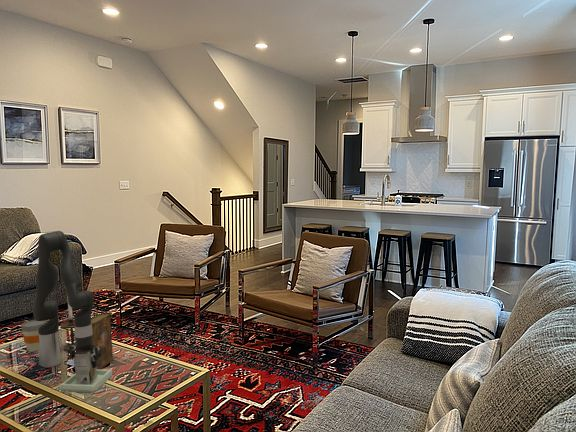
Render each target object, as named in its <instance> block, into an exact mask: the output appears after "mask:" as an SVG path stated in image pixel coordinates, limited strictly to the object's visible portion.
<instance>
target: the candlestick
mask: <svg viewBox="0 0 576 432" xmlns="http://www.w3.org/2000/svg"><path fill="white" fill-rule="evenodd" d="M66 297H67V300H68V295H67V296H66ZM67 311H68V318H67V319H66V320H67V321H64V322H62V323H61V324H59V328H60V329H63V330H66V329H69V330H70V331H69V332H70V334H69V338H70V339H69V340H70V342H71V343H70V344H67V345H65V346H64V347H63V351H65V352H70V347H71V346H72V345H75V346H76V344H75V333H74V329H75V323H74V315H73V308H71V307H70V305H69V303H68V302H67Z"/></svg>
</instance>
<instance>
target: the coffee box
mask: <svg viewBox="0 0 576 432" xmlns="http://www.w3.org/2000/svg"><path fill="white" fill-rule="evenodd" d="M93 346H94V347H95V345H93ZM93 351H94V349H93ZM94 352H95V351H94ZM92 353H93V352H92V351H91V352H90V350H87V351H85V350H84V349H82V350H79V349H77V350H75V353H74V358H75V365H74V369H75V373H76V384H82V385H91V383H92V382H93V381H94V379H95V378H96V377H97V368H93V366H92V361H93V360H92V359H91V357H90V354H91V355H92Z"/></svg>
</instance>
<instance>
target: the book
mask: <svg viewBox="0 0 576 432" xmlns="http://www.w3.org/2000/svg"><path fill="white" fill-rule="evenodd" d="M111 323H112V322H111V314H110V313H107V312H105V313H100V314H97V315H96V316H94V317H91V325H92V331H93V345H95V346H100V351H101V358H99V359H98V360H97V367H96V368H97V369H100V370H103V369H104V367H106V366H107V365H108V364H110V363H111V362H113V361H114V354H113V340H112V339H113V337H112V324H111Z"/></svg>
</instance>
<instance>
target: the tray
mask: <svg viewBox="0 0 576 432" xmlns="http://www.w3.org/2000/svg"><path fill="white" fill-rule="evenodd" d="M112 377H113V370H112V369H97V377H96V378H95V379H94V381H93V382H92V383H91V385H82V384H76V372H75V373H74V374H72V375H71V376H69V378H67V379H66V380H65V381H63V382H62V383H61V384H60V386H59V387H60V388H59V389H60V392H67V393H68V392H71V393H72V392H74V393H90V394H91V393H92V394H94V393H95V392H97V390H98V389H100V388H101V387H102V386H103V385H104V384H106V382H107V381H108V380H109V379H110V378H112Z"/></svg>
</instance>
